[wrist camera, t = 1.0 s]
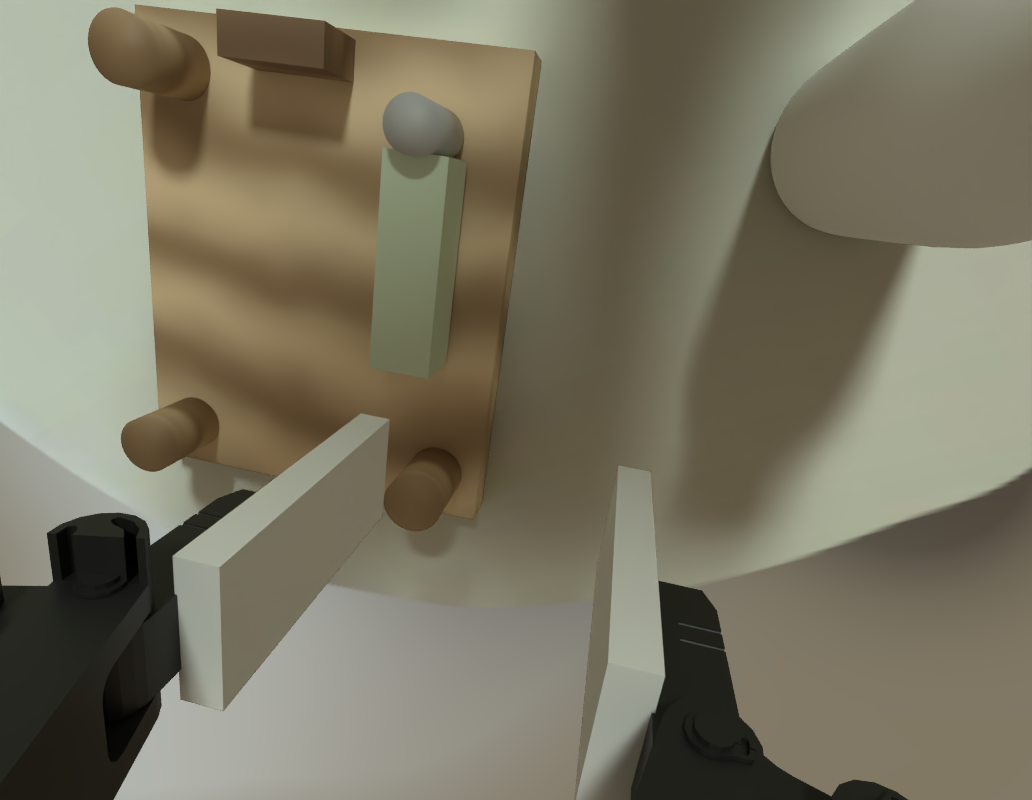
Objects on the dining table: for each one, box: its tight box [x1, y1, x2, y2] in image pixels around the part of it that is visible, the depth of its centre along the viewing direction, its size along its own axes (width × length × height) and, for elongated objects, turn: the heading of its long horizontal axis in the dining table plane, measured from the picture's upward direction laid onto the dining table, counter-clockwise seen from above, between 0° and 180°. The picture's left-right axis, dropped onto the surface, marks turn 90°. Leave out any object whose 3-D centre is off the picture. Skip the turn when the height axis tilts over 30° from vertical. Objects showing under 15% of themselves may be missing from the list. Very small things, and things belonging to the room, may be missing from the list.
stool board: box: [88, 5, 541, 531], centre depth 31 cm, size 24×20×6 cm
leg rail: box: [369, 92, 467, 379], centre depth 28 cm, size 12×3×4 cm, turn 172°
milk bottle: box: [771, 0, 1032, 248], centre depth 18 cm, size 8×8×20 cm
